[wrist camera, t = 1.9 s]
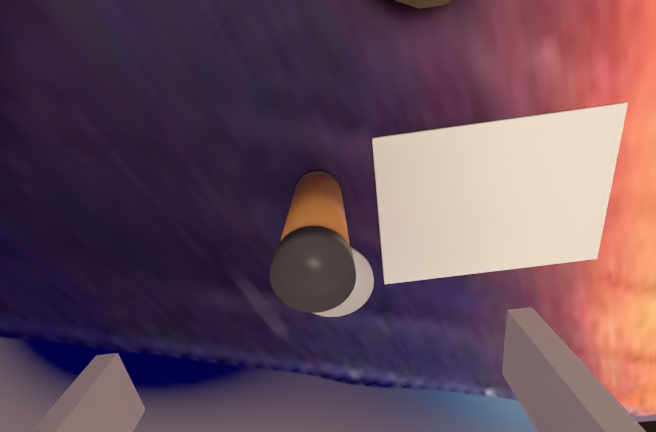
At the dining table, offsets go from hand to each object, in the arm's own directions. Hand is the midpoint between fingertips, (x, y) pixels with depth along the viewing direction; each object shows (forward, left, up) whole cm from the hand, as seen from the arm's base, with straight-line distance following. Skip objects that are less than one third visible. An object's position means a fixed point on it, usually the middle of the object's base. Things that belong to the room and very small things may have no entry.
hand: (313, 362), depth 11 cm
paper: (+15, -3, -19) cm, 24 cm away
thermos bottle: (0, 0, -19) cm, 19 cm away
